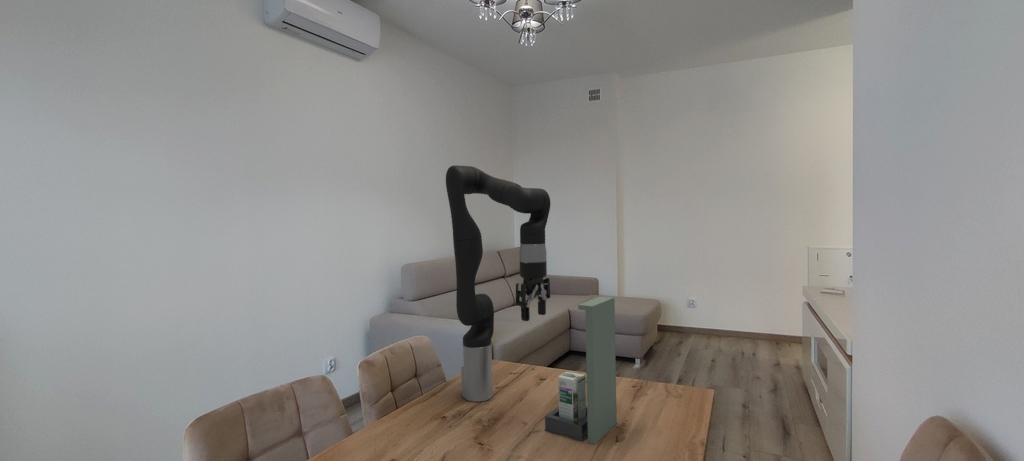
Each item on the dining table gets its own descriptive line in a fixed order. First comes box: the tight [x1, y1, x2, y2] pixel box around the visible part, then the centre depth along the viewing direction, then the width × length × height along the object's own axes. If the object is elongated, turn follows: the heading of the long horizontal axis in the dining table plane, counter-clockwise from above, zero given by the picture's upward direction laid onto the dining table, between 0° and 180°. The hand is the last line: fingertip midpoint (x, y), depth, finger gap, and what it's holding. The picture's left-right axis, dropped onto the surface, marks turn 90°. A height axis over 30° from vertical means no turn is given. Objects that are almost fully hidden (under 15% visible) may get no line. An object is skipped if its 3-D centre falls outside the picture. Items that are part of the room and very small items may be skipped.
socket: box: [544, 405, 588, 442], centre depth 124 cm, size 11×11×4 cm
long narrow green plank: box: [577, 295, 618, 445], centre depth 121 cm, size 4×14×35 cm, turn 145°
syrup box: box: [557, 371, 587, 422], centre depth 124 cm, size 6×6×14 cm
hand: (533, 317), depth 127 cm, fingers open, 8 cm apart
